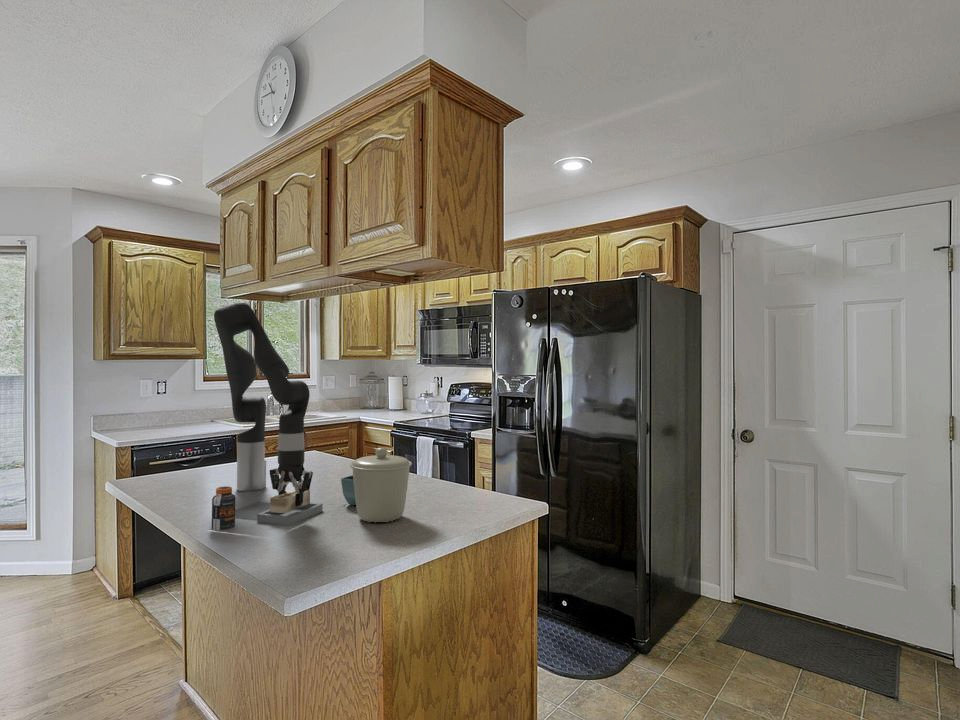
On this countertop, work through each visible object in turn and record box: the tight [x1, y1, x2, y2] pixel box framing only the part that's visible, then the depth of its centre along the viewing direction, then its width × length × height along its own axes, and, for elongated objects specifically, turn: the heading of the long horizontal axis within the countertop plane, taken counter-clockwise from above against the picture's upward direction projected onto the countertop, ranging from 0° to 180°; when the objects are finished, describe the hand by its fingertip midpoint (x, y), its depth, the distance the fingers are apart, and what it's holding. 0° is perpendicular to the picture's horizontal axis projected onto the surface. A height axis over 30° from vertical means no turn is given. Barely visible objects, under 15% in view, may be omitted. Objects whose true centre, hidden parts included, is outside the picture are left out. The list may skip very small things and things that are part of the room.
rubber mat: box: [235, 500, 270, 522], centre depth 170 cm, size 18×14×1 cm
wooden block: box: [269, 488, 311, 513], centre depth 164 cm, size 12×5×4 cm, turn 162°
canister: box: [349, 447, 413, 524], centre depth 164 cm, size 18×18×21 cm
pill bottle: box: [211, 485, 236, 532], centre depth 153 cm, size 6×6×11 cm
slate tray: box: [256, 502, 323, 527], centre depth 164 cm, size 16×11×3 cm
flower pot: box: [340, 474, 356, 506], centre depth 179 cm, size 9×9×9 cm
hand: (290, 504), depth 164 cm, fingers closed on wooden block, 5 cm apart
